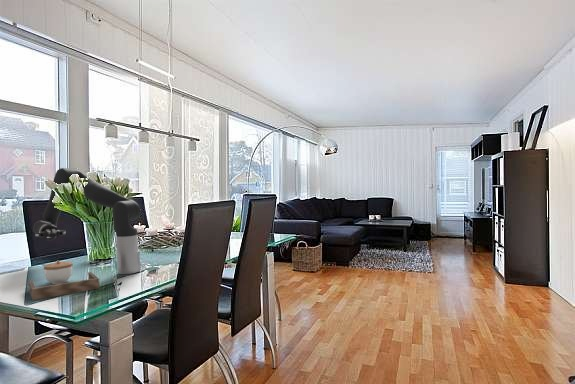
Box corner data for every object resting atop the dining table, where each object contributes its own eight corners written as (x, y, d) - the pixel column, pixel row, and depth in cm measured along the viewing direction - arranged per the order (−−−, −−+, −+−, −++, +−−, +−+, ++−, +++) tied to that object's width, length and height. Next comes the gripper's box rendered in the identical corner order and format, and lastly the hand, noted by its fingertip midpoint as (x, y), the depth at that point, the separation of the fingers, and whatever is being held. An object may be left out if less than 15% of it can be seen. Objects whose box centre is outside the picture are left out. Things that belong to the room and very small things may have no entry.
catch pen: (91, 281, 171) (91, 271, 171) (99, 288, 159) (98, 278, 159) (29, 291, 158) (28, 281, 157) (32, 300, 145) (32, 289, 145)
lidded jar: (54, 279, 176) (53, 258, 176) (78, 278, 176) (77, 257, 175) (38, 286, 165) (37, 263, 165) (64, 285, 165) (62, 262, 165)
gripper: (32, 225, 190) (35, 228, 176) (63, 222, 198) (69, 226, 184) (33, 240, 190) (36, 245, 177) (64, 238, 198) (69, 242, 184)
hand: (53, 235), depth 180 cm, fingers closed
